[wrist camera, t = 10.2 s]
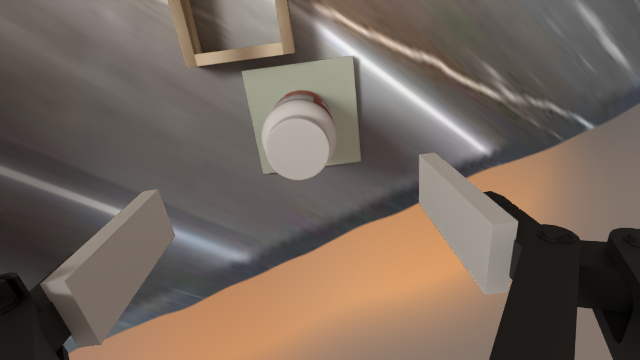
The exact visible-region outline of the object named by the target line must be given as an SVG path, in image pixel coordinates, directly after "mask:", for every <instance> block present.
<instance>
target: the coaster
mask: <svg viewBox="0 0 640 360" xmlns="http://www.w3.org/2000/svg"><path fill="white" fill-rule="evenodd" d="M242 76H243V80H244V85H245V90H246V94H247V99H248V104H249V109H250V113H251V118H252V123H253V127H254V132H255V137H256V141H257V146H258V151H259V155H260V160H261V165H262V170H263V174H267V173H275V172H276V171H275V170H274V169H273V168H272V166H271V165H270V163H269V161H268V159H267V155H266V153H265V151H264V148H263V144H262V129H263V125H264V123H265V120H266V118H267V117H268V115H269V114H270V112H271V111H272V109H273V108H274V106H275V105H276V104H277V102H278V101H279V100H280V99H281V98H282V97H283V96H284V95H286V94H288V93H290V92H292V91H296V90H307V91H311V92H314V93H316V94H317V95H319V96H320V97H321V98H322V99H323V100H324V101H325V102H326V103H327V105H328V107H329V109H330V111H331V114H332V118H333V121H334V124H335V128H336V133H337V142H336V148H335V151H334V153H333V155H332V157H331V158H330V160H329V161H328V162H327V163H326V165H325V166H330V165H337V164H345V163H353V162H361V154H360V141H359V129H358V116H357V103H356V90H355V77H354V65H353V56H347V57H340V58H332V59H325V60H318V61H310V62H303V63H296V64H288V65H281V66H274V67H266V68H259V69H251V70H244V71H242Z"/></svg>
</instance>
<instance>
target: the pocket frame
mask: <svg viewBox="0 0 640 360" xmlns="http://www.w3.org/2000/svg"><path fill="white" fill-rule="evenodd" d="M168 3H169V6H170V10H171V14H172V17H173V21H174V24H175V28H176V32H177V35H178V39H179V42H180V46H181V50H182V53H183V57H184V60H185V64H186V68H189V67H196V66H203V65H211V64H218V63H225V62H233V61H240V60H247V59H255V58H262V57H269V56H276V55H284V54H291V53H296V52H295V45H294V38H293V31H292V24H291V17H290V10H289V3H288V0H275V4H276V10H277V17H278V23H279V29H280V35H281V42H282V43H275V44H268V45H261V46H254V47H246V48H239V49H232V50H224V51H217V52H210V53H203V52H202V48H201V44H200V41H199V37H198V33H197V29H196V25H195V21H194V17H193V13H192V9H191V5H190V1H189V0H168Z"/></svg>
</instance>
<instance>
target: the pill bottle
mask: <svg viewBox="0 0 640 360" xmlns="http://www.w3.org/2000/svg"><path fill="white" fill-rule="evenodd" d="M336 142H337V133H336V128H335V124H334V121H333V118H332V114H331V111H330V109H329V107H328V105H327V103H326V102H325V101H324V100H323V99H322V98H321V97H320V96H319V95H317V94H316V93H314V92H311V91H307V90H296V91H292V92H290V93H288V94H286V95H284V96H283V97H282V98H281V99H280V100H279V101H278V102H277V104H276V105H275V106H274V108H273V109H272V111H271V112H270V114H269V115H268V117H267V118H266V120H265V123H264V125H263V129H262V144H263V148H264V151H265V153H266V155H267V159H268V161H269V163H270V165H271V166H272V168H273V169H274V170H275V171H276V172H277V173H278V174H280V175H281V176H283V177H285V178H288V179H292V180H305V179H308V178H311V177H313V176H315V175H317V174H318V173H319V172H320V171H321V170H322V169H323V168H324V167H325V165H326V163H327V162H328V161H329V160H330V158H331V157H332V155H333V153H334V151H335V148H336Z"/></svg>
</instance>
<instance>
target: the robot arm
mask: <svg viewBox="0 0 640 360" xmlns="http://www.w3.org/2000/svg"><path fill="white" fill-rule="evenodd" d="M419 204H420V205H421V207H422V208H423V209H424V211H425V212H426V214H427V215H428V216H429V218H430V219H431V221H432V222H433V223H434V225H435V226H436V227H437V229H438V230H439V232H440V233H441V234H442V236H443V237H444V238H445V240H446V241H447V243H448V244H449V245H450V247H451V248H452V249H453V251H454V252H455V254H456V255H457V256H458V258H459V259H460V260H461V262H462V263H463V265H464V266H465V268H466V269H467V270H468V272H469V273H470V274H471V276H472V277H473V279H474V280H475V281H476V283H477V284H478V285H479V287H480V288H481V290H482V291H483V292H484V294H485V295H487V294H495V293H502V292H508V288H509V281H510V278H511V279H512V280H513V281H512V284H511V287H510V291H509V294H508V298H507V301H506V304H505V308H504V311H503V315H502V318H501V321H500V325H499V328H498V332H497V335H496V338H495V342H494V345H493V348H492V352H491V355H490V359H489V360H574V356H575V338H576V319H577V307H582V308H592V309H593V312H594V314H595V317H596V319H597V321H598V324H599V326H600V328H601V331H602V334H603V336H604V338H605V341H606V343H607V346H608V348H609V351H610V353H611V356H612V358H613V360H640V229H634V228H618V229H614V230H612V231H611V232H610V234H609V238H608V241H607V242H599V241H583V240H580V239H579V237H578V236H577V235H576V234H574V233H573V232H572V231H569V230H567V229H565V228H562V227H558V226H555V225H547V224H543V225H541V224H539V223H538V222H537V221H535V220H534V219H533V218H531V217H530V216H529V215H527V214H526V213H525V212H524V211H522V210H521V209H519V208H518V207H517V206H516V205H514V204H512V203H511V202H510V201H509V200H508V199H506V198H505V197H504V196H501V195H499V194H497V193H494V192H492V191H488V192H482V191H481V190H479V189H478V188H477V187H476V186H475V185H473V184H472V183H471V182H470V181H468V180H467V179H466V178H465V177H464V176H462V175H461V174H460V173H459V172H458V171H456V170H455V169H454V168H453V167H452V166H450V165H449V164H448V163H447V162H445V161H444V160H443V159H442V158H441V157H439V156H438V155H437V154H436V153H435V152H434V153H427V154H419ZM174 237H175V234H174V231H173V229H172V226H171V223H170V220H169V218H168V215H167V212H166V209H165V207H164V204H163V201H162V199H161V196H160V193H159V190H158V189H157V190H150V191H143V192H142V193H141V194H140V195H138V196H137V197H136V198H135V199H134V200H133V201H132V202H131V203H130V204H128V205H127V206H126V207H125V208H124V209H123V210H122V211H121V212H120V213H118V214H117V215H116V216H115V217H114V218H113V219H112V220H111V221H110V222H109V223H107V224H106V225H105V226H104V227H103V228H102V229H101V230H100V231H99V232H97V233H96V234H95V235H94V236H93V237H92V238H91V239H90V240H89V241H87V242H86V243H85V244H84V245H83V246H82V247H81V248H80V249H79V250H77V251H76V252H74V253H72V254H71V255H70V256H69V257H68V258H67V259H66V260H64V261H63V262H62V264H60V265H59V266H58V267H57V268H55V269H54V272H51V273H50V274H49V275H48V276H46V277H45V278H44V279H43V280H42V281H41V282H40V283H39V284H38V285H36V286H35V287H34V288H33V289H32V290H31V291H30V292H29V291H28V290H27V288H26V286H25V285H24V283H23V282H22V280H21V279H20V277H19V276H18V274H17V273H5V274H1V275H0V360H69V356H68V352H67V350H66V349H65V347H64V346H63V344H64V343H65V341H66V340H67V339H68V338H69V336H70V335H71V336H72V337H73V339H74V340H75V342H76V344H77V345H78V347H85V346H93V345H101V343H102V342H103V341H104V339H105V338H106V336H107V335H108V333H109V332H110V330H111V329H112V327H113V326H114V325H115V323H116V322H117V320H118V319H119V317H120V316H121V314H122V313H123V311H124V310H125V308H126V307H127V305H128V304H129V303H130V301H131V300H132V298H133V297H134V295H135V294H136V292H137V291H138V289H139V288H140V286H141V285H142V283H143V282H144V281H145V279H146V278H147V276H148V275H149V273H150V272H151V270H152V269H153V267H154V266H155V264H156V263H157V261H158V260H159V259H160V257H161V256H162V254H163V253H164V251H165V250H166V248H167V247H168V245H169V244H170V242H171V241H172V239H173V238H174Z"/></svg>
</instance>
